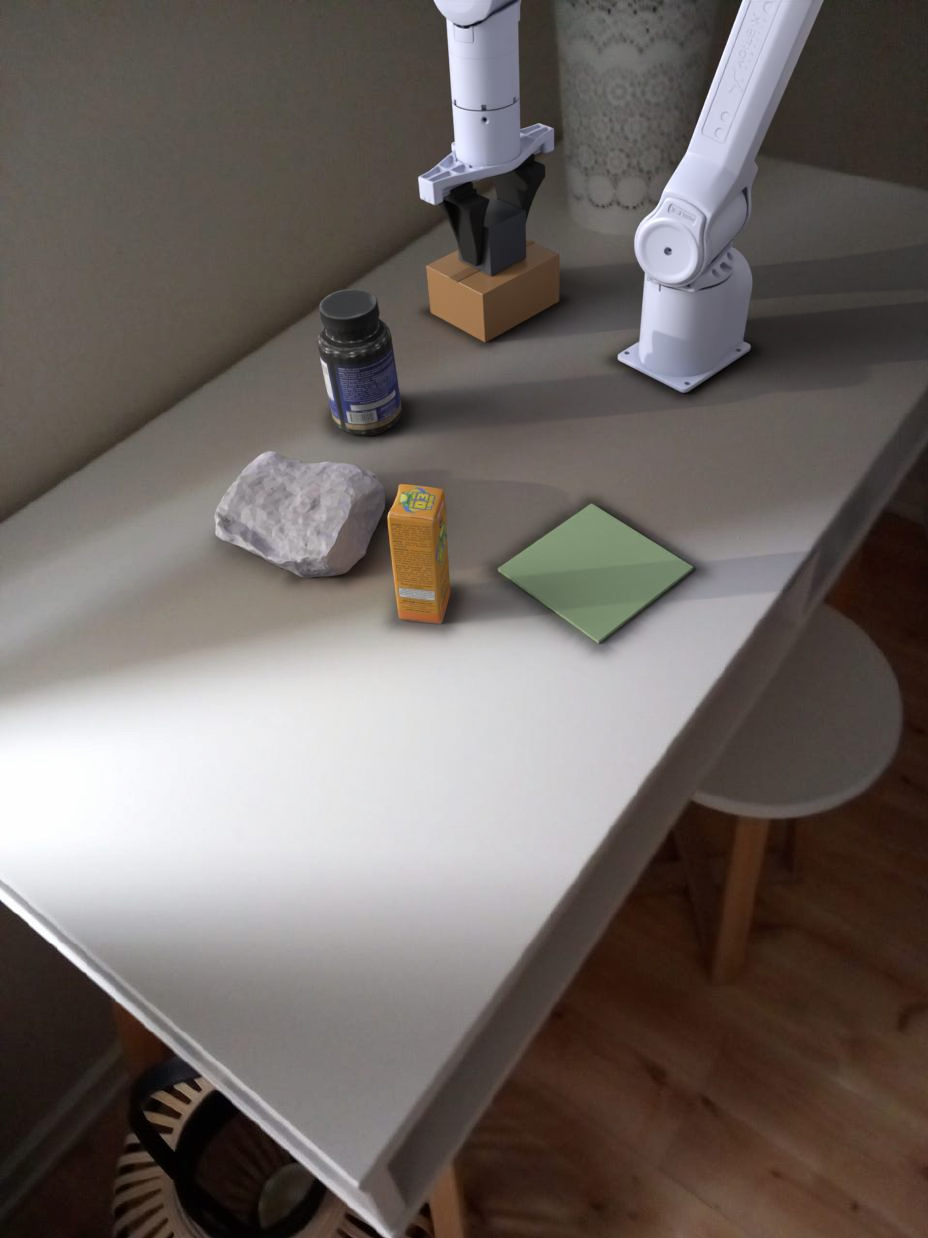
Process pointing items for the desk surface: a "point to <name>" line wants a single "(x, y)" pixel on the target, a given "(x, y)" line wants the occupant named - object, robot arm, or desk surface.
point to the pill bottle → (358, 363)
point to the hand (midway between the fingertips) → (492, 251)
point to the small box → (502, 237)
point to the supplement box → (420, 553)
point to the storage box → (493, 291)
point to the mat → (595, 571)
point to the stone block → (302, 513)
